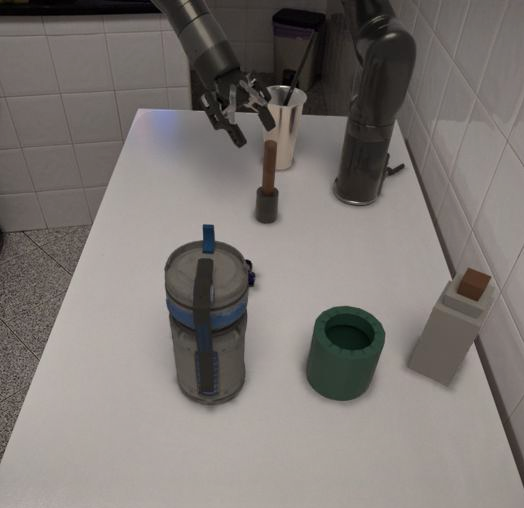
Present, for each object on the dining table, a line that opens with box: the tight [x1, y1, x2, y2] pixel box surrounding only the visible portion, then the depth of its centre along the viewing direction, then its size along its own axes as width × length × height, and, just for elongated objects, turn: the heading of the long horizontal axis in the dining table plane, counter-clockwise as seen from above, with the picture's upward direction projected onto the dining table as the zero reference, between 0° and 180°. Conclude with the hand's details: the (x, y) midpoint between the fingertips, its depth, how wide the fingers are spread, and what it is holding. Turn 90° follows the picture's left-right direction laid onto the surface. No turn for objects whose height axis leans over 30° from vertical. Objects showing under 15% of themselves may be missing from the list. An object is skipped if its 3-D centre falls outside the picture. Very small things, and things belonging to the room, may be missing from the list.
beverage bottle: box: [163, 223, 250, 405], centre depth 67 cm, size 10×13×25 cm
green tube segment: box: [305, 305, 386, 402], centre depth 75 cm, size 10×10×10 cm
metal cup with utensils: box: [260, 27, 319, 171], centre depth 107 cm, size 11×11×30 cm
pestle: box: [255, 140, 280, 225], centre depth 99 cm, size 4×4×16 cm
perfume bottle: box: [407, 267, 496, 387], centre depth 75 cm, size 7×7×18 cm
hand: (258, 137), depth 94 cm, fingers open, 8 cm apart
